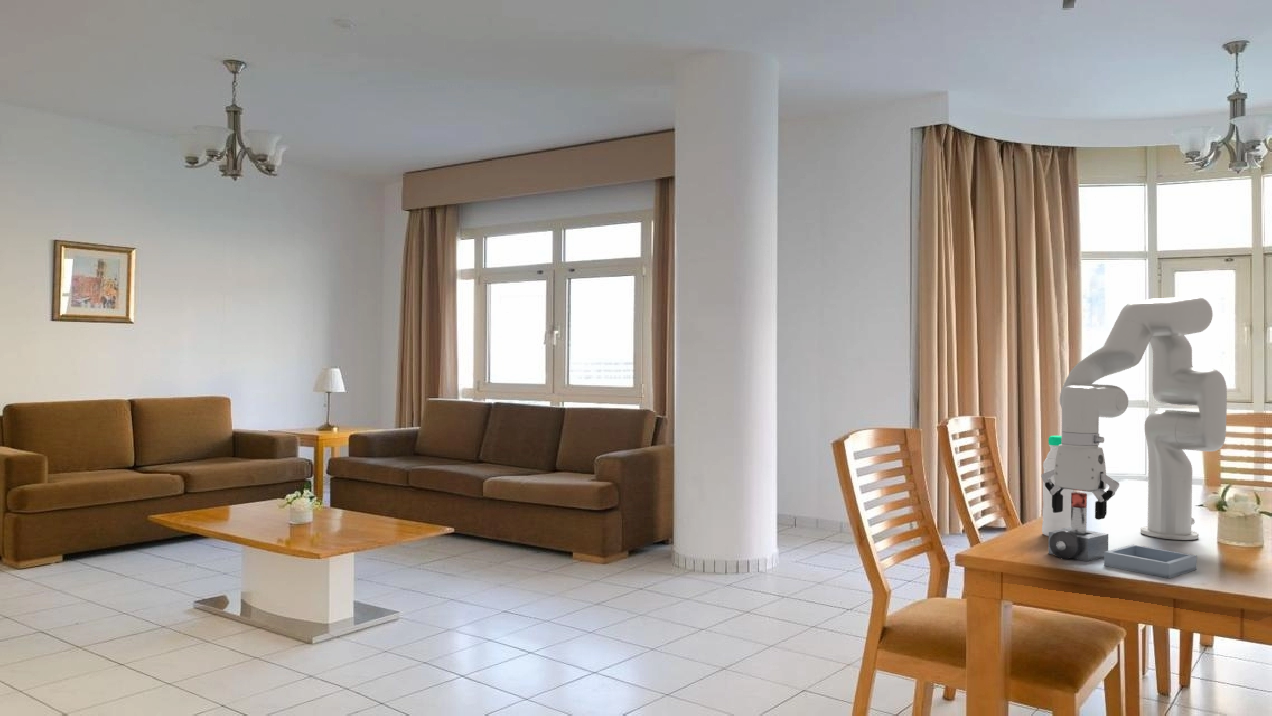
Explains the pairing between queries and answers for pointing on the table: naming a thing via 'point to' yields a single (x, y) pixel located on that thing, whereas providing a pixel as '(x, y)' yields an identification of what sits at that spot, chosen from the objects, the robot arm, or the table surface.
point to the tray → (1150, 561)
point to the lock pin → (1078, 513)
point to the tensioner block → (1077, 544)
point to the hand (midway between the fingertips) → (1078, 515)
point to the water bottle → (1049, 518)
